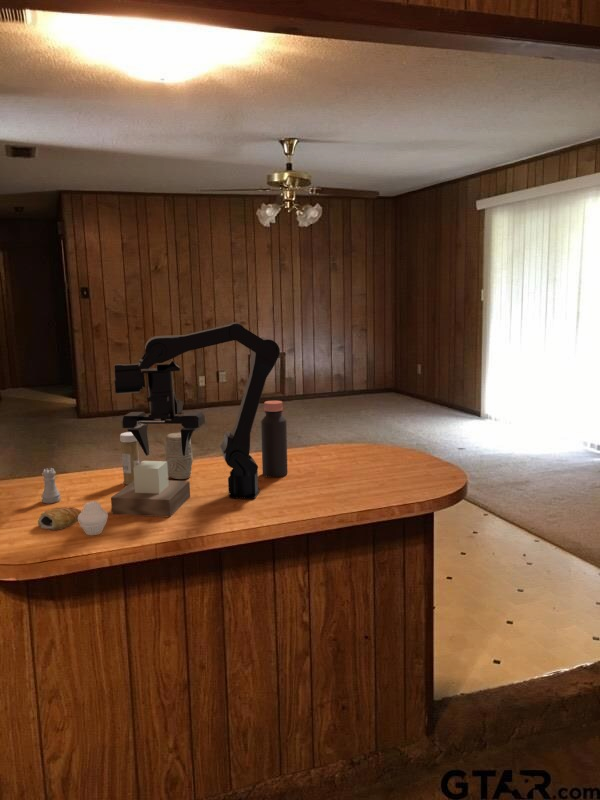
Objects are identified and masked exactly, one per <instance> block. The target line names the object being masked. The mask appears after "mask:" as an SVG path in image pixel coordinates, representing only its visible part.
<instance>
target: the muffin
mask: <svg viewBox="0 0 600 800" xmlns="http://www.w3.org/2000/svg"><path fill="white" fill-rule="evenodd" d="M82 507H83V509H82V511H81V513H80V514H79V516H78V523H79V526H80V527H81V529H82V530H83V531H84V533H85V534H86V535H88V536H97V535H99V534H101V533H102V532H103V530H104V528H105V526H106V525H107V524H106V523H107V521H108V518H109V516H108V515H109V514H108V512H107V511H106V510H104V508H103V507H102V506H101V503H100V502H98V501H88V502H86V503H85V504H84V505H83V506H82Z"/></svg>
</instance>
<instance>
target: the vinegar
mask: <svg viewBox="0 0 600 800" xmlns="http://www.w3.org/2000/svg"><path fill="white" fill-rule="evenodd" d="M283 404H284V403H283V401H282V400H266V401H264V402H263V405H264V406H263V407H264V408H263V409H264V413H265V415H264V417H263V418H262V419H261V422H260V423H261V424H260V426H261V428H260V429H261V430H260V431H261V433H260V435H261V465H262V469H261V470H262V474H263V475H262V476H264V477H266V476H267V478H281V477H285V476H286V475H287V474H288V439H287V438H288V433H287V431H288V427H287V426H288V425H287V423H288V422H287V418H285V417H284V416H283V414H282V413H283V410H284V408H283Z"/></svg>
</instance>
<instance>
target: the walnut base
mask: <svg viewBox="0 0 600 800" xmlns="http://www.w3.org/2000/svg"><path fill="white" fill-rule="evenodd" d="M168 484H169V486H168V487H166V488H165V489H164V490H163V491H162V492H161V493H160V494H156V493H135V485H134V481H132V482H131V483H130V484H128V485H126V486H124V487H123V488H122V489H120V490H119V491H118V492H116V493H115V494H113V495H112V496H111V497H110V503H111V514H112V515H118V516H120V515H123V516H140V517H141V516H146V517H165V518H166V517H167V518H171V517H172V516H173V515H174V514H175V513H176V512H177V511H178V510H179V509H180V508H181V507H182V506H183V505H184V504H185V503H186V502H187V501H188V499H190V498H191V486H190V485H191V483H190V480H169V479H168Z"/></svg>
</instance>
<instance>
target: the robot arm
mask: <svg viewBox="0 0 600 800" xmlns="http://www.w3.org/2000/svg"><path fill="white" fill-rule="evenodd" d="M232 341H236V342H237V343H240V344H241V345H242V346H244V347H246V348H247V349H249V350H250V360H249V368H250V369H249V375H248V378H247V382H246V385H245V388H244V392H243V395H242V399H241V402H240V407H239V410H238V413H237V416H236V421H235V423H234V426H233V428H232V430H230V432H228V431H224V435H223V441H222V442H221V444H220V446H219V447H220V449H221V455H222V457H223V459H224V461H225V463H226V465H227V466H228V467H229V468H232V469H231V470H230V471H229V476H228V478H227V480H228V481H227V483H228V484H227V485H228V489H227V490H228V493H229V495H228V498H230V499H245V500H246V499H247V500H250V499H251V500H252V499H253V500H254V499H256V497H257V496H258V494H259V493H260V492H261V489H259V477H258V475H259V474H258V472H259V470H258V469H259V466H258V464H257V462H256V461H255V460H254V458H253V456H251V455H250V451H251V450H250V449H251V432H252V428H253V425H254V422H255V418H256V416H257V415H256V414H257V411H258V407H259V404H260V401H261V398H262V395H263V391H264V387H265V385H266V380H267V378H268V377H269V375H270V373H271V372H272V371H273V369H274V366H275V365H276V364H277V361H278V359H279V357H280V352H281V348H280V347H279V345H278V344H277V342H276V341H274V340H272V339H270V338H268V337H264V336H263V337H260V336H258V335H256V334H255V333H253V332H252V331H250V330H248V329H247V328H245V327H244V325H242V324H240V323H239V322H231V323H229V324H226V325H221V326H216V327H213V328H208V329H204V330H200V331H196V332H195V331H194V332H191V333H187V334H182V335H181V334H179V335H173V334H172V335H170V334H169V335H168V334H167V335H155V336H153V337H152V336H151V337H150V338H149V339H148V340H147V341H146V343H145V347H144V348H145V350H144V351H145V352H144V354H143V355H142V357H141V358H139V361H138V363H130V364H129V363H128V364H124V363H117V364H114V389H115V395H120V394H121V395H122V394H133V393H134V394H135V393H136V394H137V393H141V390H143V389H144V388H146V384H145V383H146V382H145V374H147V376H146V378H147V386H148V396H147V398H146V400H147V402H149V414H148V415H147V414H146V412H145V411H131V412H128V413H126V414H125V415H123V416H122V417H121V420H120V422H121V428H122V429H127V432H131V433H132V434H133V435H134V437H135V438H136V439H137V441H138V445H139V446H140V447H141V450H143V451H142V452H143V453H144V455H145V456H149V455H150V446H149V445H150V444H149V439H148V438H149V437H148V426H149V424H151V425H152V424H153V425H154V424H155V425H157V424H158V425H159V424H160V425H161V424H162V425H164V424H165V425H171V424H173V425H174V424H176V425H180V424H181V426H182V427H183V428H181V429H180V433H181V442H182V453H183V456H185V455H186V453H187V449H188V446H189V442H190V440H191V439H192V436H193V433H194V431H195V432H196V430H197V429H198V428H200V427H202V426H203V425H204V424H206V419H205V418H206V417H205V416H206V415H205V414H204V413H203V412H202V411H187V412H186V413H184V414H183V407H184V406H183V405H184V401H182V400H181V399H178V398H177V394H176V392H174V391H175V390H174V378H173V372H179V371H180V370H181V368H180V365H178V364H177V363H176V362H175V361H174V360H173V359H175V358H176V357H178V356H181V355H183V354H185V353H187V352H190V351H195V350H198V349H203V348H207V347H211V346H216V345H220V344H224V343H229V342H232ZM169 360H170V362H169V363H165V362H167V361H169ZM155 364H156V367H153V368H151V367H152V366H154V365H155ZM190 438H191V439H190Z"/></svg>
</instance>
